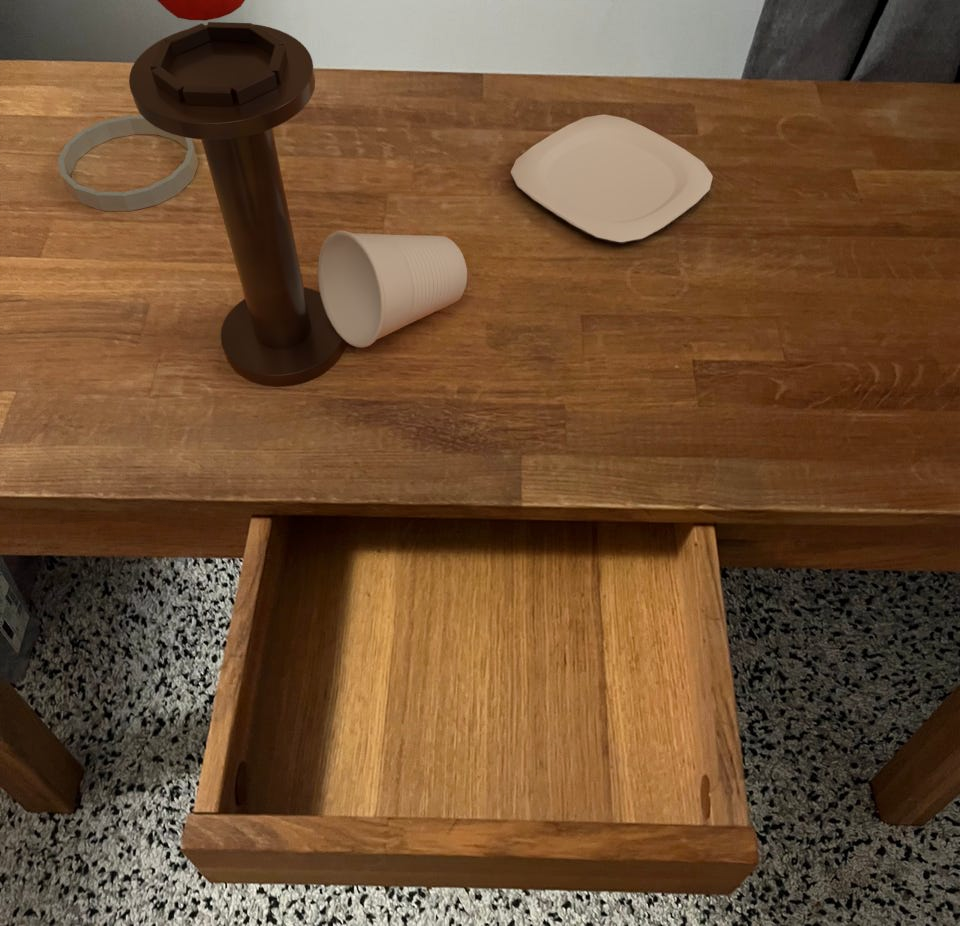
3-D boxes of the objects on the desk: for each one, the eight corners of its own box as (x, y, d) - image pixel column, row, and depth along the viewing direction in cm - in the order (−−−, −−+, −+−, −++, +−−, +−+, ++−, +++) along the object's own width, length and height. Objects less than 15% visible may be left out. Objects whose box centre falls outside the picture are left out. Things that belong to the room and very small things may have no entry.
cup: (454, 343, 83) (357, 370, 77) (403, 263, 85) (305, 282, 79) (499, 276, 75) (396, 300, 69) (442, 190, 78) (337, 205, 71)
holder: (271, 413, 74) (191, 133, 52) (192, 338, 79) (88, 52, 57) (379, 342, 79) (348, 59, 57) (298, 275, 84) (241, -10, 62)
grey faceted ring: (108, 229, 87) (101, 213, 86) (41, 167, 93) (34, 151, 91) (222, 171, 93) (218, 155, 91) (153, 116, 98) (147, 100, 97)
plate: (489, 183, 93) (490, 169, 91) (600, 115, 100) (602, 101, 99) (620, 268, 85) (623, 255, 84) (729, 187, 93) (733, 174, 92)
